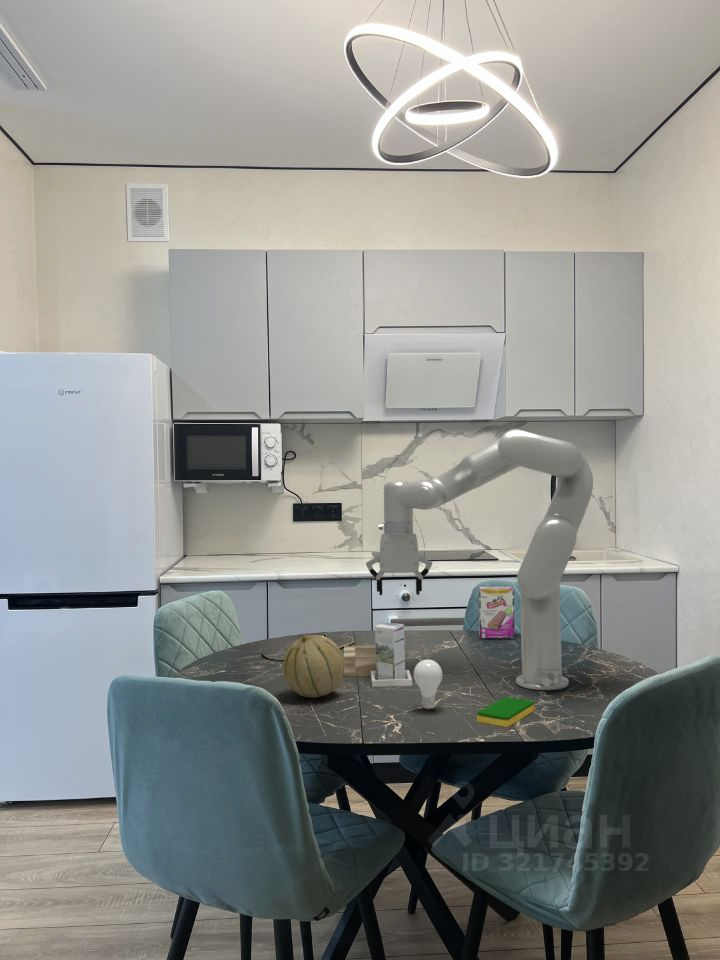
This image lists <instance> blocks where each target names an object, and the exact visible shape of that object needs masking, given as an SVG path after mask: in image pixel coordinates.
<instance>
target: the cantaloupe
mask: <svg viewBox="0 0 720 960" xmlns="http://www.w3.org/2000/svg"><path fill="white" fill-rule="evenodd" d="M321 635H322V634H310V635H304V636H302V637H301V638H298V639H299V640H297V639H296V640H297V641H295V642H294V643H293V644H292V645H291V646H290V647H288V649H287V650H286V653H285V654H284V657H283V658H284V661H282V672H283V677H284V680H285V682H286V684H287V685H288V686H289V688H290V689H291V690H292V691H293V692H295V693H296V694H298V695H299V696H301V697H305V698H311V699H315V698H321V697H324V696H326V695H329V694H331V693H332V692H334V691H335V690H336V689H337V688H338V687H339V685H340V683H341V682H342V679H343V678H344V669H345V662H344V653H342V651H341V650H342V649H339V646H338V645H337V644H336V642H334V640H333V639H329V638H327V637H324V636H321Z"/></svg>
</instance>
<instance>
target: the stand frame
mask: <svg viewBox="0 0 720 960" xmlns="http://www.w3.org/2000/svg"><path fill="white" fill-rule="evenodd" d="M405 675H406V679H390V680H377V679H376V678H377V677H376V671H371V676H370V679H371V686H372V688H376V687H378V688H379V687H385V688H386V687H413V677H412V675H411V673H410V670H409V669H405Z"/></svg>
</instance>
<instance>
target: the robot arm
mask: <svg viewBox="0 0 720 960" xmlns="http://www.w3.org/2000/svg"><path fill="white" fill-rule="evenodd" d="M519 467H522V468H525V469H529V470H531V471H535V472H540V473H544V474H548V475H550V476H555V477H556V482H557V484H556V488H555V491H554V493H553V496H552V498H551V502H550V504H549V506H548V508H547V510H546V513H545V514H544V517H543V519H542V520H541V521H540V523H539V524H538V526H537V527H536V529H535V532H534V534H533V536H532V539H531V541H530V544H529V546H528V548H527V550H526V553H525V554H524V558H523V560H522V563H521V565H520V567H519V570H518V571H517V576H516V582H517V585H518V588H519V590H520V633H521V634H520V638H521V639H520V641H521V671H522V672H521V674H519V675H518V676H517V677H516V678H515V682H516V685H518V686H519V687H521V688H524V689H528V690H536V691H538V690H539V691H554V690H555V691H556V690H561V689H562V690H563V689H565V688H568V686H569V684H570V683H569V682H570V681H569V678H567V677H565V676H563V669H562V668H563V666H562V664H563V663H562V662H563V661H562V636H561V635H562V634H561V633H562V632H561V631H562V630H561V589H560V588H561V579H562V577H563V575H564V572H565V570H566V568H567V565H568V563H569V560H570V558H571V556H572V554H573V552H574V549H575V546H576V545H577V544H576V543H577V539H578V538H577V535H578V532H579V529H580V526H581V524H582V521H583V520H584V516H585V514H586V511H587V509H588V507H589V503H590V501H591V497H592V494H593V489H594V476H593V472H592V469H591V466H590V464H589V462H588V461H587V460H586V458H585V456H584V455H583V454H582V453H581V451H580V450H579V448H578V447H577V446H576V445H575V444H573V443H572V442H569V441H565V440H562V439H558V438H553V437H549V436H545V435H541V434H536V433H533V432H531V431H526V430H523V429H519V428H514V429H510V430H508V431H506V432H505V433H504V434H502V435H501V437H499V438H498V439H496V440H494V441H493V442H490V443H489V444H487V445H485V446H483V447H482V448H479V449H477V450H475V451H472V452H471V453H469V454H467V455H466V456H464V457H463V458H462V460H461V461H459V463H458V464H456V465H455V466H453V467H452V468H450V469H448V470H446V471H444V472H443V473H441V474H439V475H437V476H435V477H433V478H431V479H425V480H418V481H411V482H410V481H388V482H386V483H385V484H384V486H383V520H384V522H383V523H381V524H378V530H379V531H383V533H381V536H380V542H379V555H378V556H376V557H374V558H371V559H370V560H368V561H367V562H365V566H366V567H367V570H368V571H369V573H370V574H371V576H373V577H374V578H375V580H376V592H377V593H379V596H383V579H382V577H384V575H385V574H397V573H398V574H411V573H412V574H413V573H414V575H415V576H416V579H415V594H416V595H417V596H419V595H420V592H423V579H424V578H425V576H426V575H428V574H429V572H430V570H431V567H432V565H433V562H432V561H431V560H429V559H427V558H424V557H423V556H421V555H419V545H418V543H419V542H418V536H417V534H416V533H414V517H413V516H414V509H416V510H425V511H426V510H427V511H428V510H433V509H437V508H439V507H441V506H443V505H445V504H447V503H449V502H451V501H453V500H455V499H456V498H459V497H460V496H463V495H464V494H466V493H469V492H470V491H472V490H473V491H474V490H475V489H478V488H480V487H482V486H484V485H486V484H487V483H489V482H491V481H494V480H495V479H497V478H499V477H501V476H503V475H505V474H507V473H509V472H511V471H513V470H515V469H517V468H519ZM377 563H378V564H379V571H376V570H375V569H374V567H373V565H375V564H377ZM419 563H422V564H423V565H424V564H425V567H424V569H422V570H421V572H420V570H419V568H420V567H419V566H420V564H419Z"/></svg>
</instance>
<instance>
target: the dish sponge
mask: <svg viewBox="0 0 720 960" xmlns="http://www.w3.org/2000/svg"><path fill="white" fill-rule="evenodd" d="M533 712H535V701H533V700H528V699H522V698H515V697H509V696H505V697H502V698H501V699H499V700H497V701H495V702H493V703H491V704H489V705H488V706H486V707H484V708H482V709H480V710H478V711H477V712H476V722H478V723H482V724H487V725H492V726H497V727H505V728H510V727H511V726H512V725H514V724H516V723H517V722H519V721H521V720H522V719H524V718H525V717H527V716H529V715H530V714H531V713H533Z"/></svg>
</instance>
